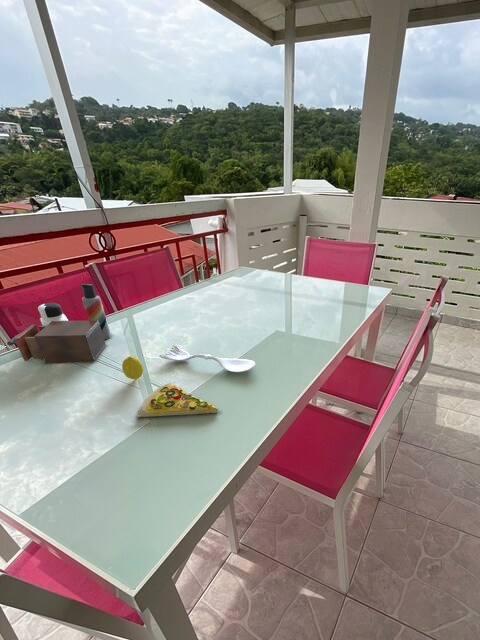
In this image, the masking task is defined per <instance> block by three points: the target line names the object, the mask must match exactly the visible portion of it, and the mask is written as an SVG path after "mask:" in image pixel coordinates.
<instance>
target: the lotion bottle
mask: <svg viewBox="0 0 480 640" xmlns="http://www.w3.org/2000/svg"><path fill="white" fill-rule="evenodd" d="M80 287H81V290H82V294H83V296H82V298H81V301H82V304H83V308H84V310H85V313H86V316H87V321H99V324H100V327H101V330H102V334H103V337H104V340H108V339H110V338H111V337H112V334H111V329H110V326H109V323H108V319H107V316H106V312H105V309H104V305H103V302H102V299H101V297H100V296H99V295H98V294H97V292H96V289H95V286H94V284H92V283H81V284H80Z"/></svg>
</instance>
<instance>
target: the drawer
mask: <svg viewBox="0 0 480 640" xmlns="http://www.w3.org/2000/svg"><path fill="white" fill-rule="evenodd" d="M44 327H46V326H42V325H39V326H38V327H37V324H31V325H29V326H28V327H27V328H25V330H23V331H22V332H21V333H17V334H16V335H14V337H12V338H11V339H10V340H8V341H7V342H6V343H7V345H8V346H10V347H11V346H14V345H16V346H17V348H18V351H19V353H20V354H21V356H22V359H23V361H24V362H26V361H28V362H29V361H30V360H31V359H34V360H38V359H44V358H43V355H42V353H41V351H40V348H39V346H38V344H37V341H36V339H35V337H34V336H35V335H36V334H37V333H39V332H40V331H41V330H42V329H43V328H44Z"/></svg>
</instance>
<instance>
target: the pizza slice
mask: <svg viewBox="0 0 480 640" xmlns="http://www.w3.org/2000/svg"><path fill="white" fill-rule="evenodd" d="M218 411H219V408H218V407H216V406H214V405H213V404H212V403H210V402H208V401H206V400H204V399H201V398H198V397H196V396H194V395H192V394H190V393H189V392H187V391H186V390H184V389H183V388H181V387H179V386H177V385H175V384H171V383H169V382H167V383H164V384H163V385H161V386H159V387H158V388H156V389H155V390H153V391H152V392H151V393H150V394H148V395H147V397H146V398H145V399H144V400H143V402H142V403H141V405H140V406H139V408H138V410H137V416H138V417H139V418H146V417H147V418H148V417H149V418H150V417H168V416H169V417H170V416H188V415H189V416H190V415H199V414H200V415H201V414H216V413H218Z"/></svg>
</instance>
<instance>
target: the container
mask: <svg viewBox="0 0 480 640" xmlns="http://www.w3.org/2000/svg"><path fill="white" fill-rule="evenodd" d="M37 310H38V312H39V315H40V318H39V321H40V323H41V326H47V325H48V324H49V323H50V322H52V321H69V319H68V318H67V316H66V315H65V314H64V312H63V309H62V307H61V304H58V303H56V302H47V303H42V304H40V305H39V306H38V307H37Z"/></svg>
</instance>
